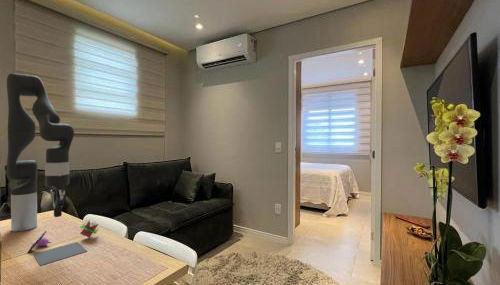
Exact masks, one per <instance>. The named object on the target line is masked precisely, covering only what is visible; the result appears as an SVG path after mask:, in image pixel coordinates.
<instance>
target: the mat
mask: <svg viewBox="0 0 500 285" xmlns="http://www.w3.org/2000/svg"><path fill="white" fill-rule="evenodd" d="M86 252H87V253H88V250H87V249H85V248H84V246H83V245H81V244H80V243H79V242H78V241H75V242H72V243H66V244H65V245H61V246H57V247H53V248H49V249H46V250H42V251H39V252H35V253H33V256H34V258H35V259H36V261H37V263H38V265H39V267H41V266H44V265H48V264H51V263H55V262H58V261H61V260H64V259H67V258H71V257H73V256H77V255H80V254H84V253H86Z"/></svg>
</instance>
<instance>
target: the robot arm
mask: <svg viewBox="0 0 500 285" xmlns="http://www.w3.org/2000/svg"><path fill="white" fill-rule="evenodd" d="M45 87H46V86H45V85H44V83H43V80H41V78H40V77H38V76H37V75H33V74H26V73H25V74H24V73H16V72H15V73H13V72H12V73H8V75H7V77H6V91H7V104H8V106H7V107H8V112H7V113H8V114H7V116H8V117H7V159H6V168H5V169H6V178H7V180H8V181H9V180H10V181H18V180H19V181H20V180H27V181H25V182H24V183H22V184H20V185H17V186H15V187H13V188H11V189H10V216H11V217H10V230H11V232H23V231H29V230H32V229H35V228H36V227H38V184H37V183H38V169H39V168H38V162H37V160H34V159H27V160H18V159H19V157H20V155H21V153H22V152H23V151H24V150H25V149H26V148H27V147H28V146H29V145H30V144H31V143H32V142H33V141H34V140H35V138H36V129H37V128H36V126H37V125H36V122H35V120H34V119H33V118H32V117H31V115H30V114H29V112H27V111H26V109H25V108H24V106H23V105H22V102H21V97H36V100H35V101H34V103H33V104H32V108H31V109H32V114H33V116H34V117H35V119H36V120H37V122H38V126H39V136H40V137H41V139H43V140H44V141H46V142H58V144H57V145H56V146H51V147H49V148H47V149H46V152H45V168H44V172H45V175H44V176H45V177H44V178H45V179H44V180H45V182H44V185H45V187H49V188H51V190H50V192H49V194H50V201H51V205H52V207H53V217H54V218H59V217H62V214H63V213H62V212H63V211H62V209H63V207H64V206H65V201H66V198H67V196H66V189H64V186H68V185H69V184H70V163H69V160H70V158H69V156H70V155H69V153H70V148H71V145H72V142H73V139H74V137H75V136H74V135H75V130H74V128H73V126H72V125H70V124H68V123H60V122H61V118H60V116H59V114H58V113H57V111H56V110H55V108H54V107H53V105H52V103H51V100H50V98H49V95H48V92H47V89H46V88H45Z"/></svg>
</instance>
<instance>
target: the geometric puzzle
mask: <svg viewBox="0 0 500 285" xmlns="http://www.w3.org/2000/svg"><path fill="white" fill-rule="evenodd" d="M98 227H99V223H98V222H97V221H96V220H91V219H89V220H88V221H86V222H85V223H83V224H81V226H80V233H79V234H80V235H82V236H83V237H87V238H91V237H92V236H93V234H94V235H96V234H97V232H98V231H99V229H97V228H98Z"/></svg>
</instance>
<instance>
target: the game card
mask: <svg viewBox="0 0 500 285" xmlns="http://www.w3.org/2000/svg"><path fill="white" fill-rule="evenodd" d="M46 233H47V230H45V231H44V232H43V233H42V234H41V235H40V236H38V237H37V239H36V241H33V242H32V243H31V247H29V249H28V251H27V253H28V254H29V253H30V252H31V251H32V250H33V249H34V247H35V246H36V245H37V246H40V247H44V246H47V245H48V244H52V242H51V241H49V238H47V237H44V236H45V235H46Z"/></svg>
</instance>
